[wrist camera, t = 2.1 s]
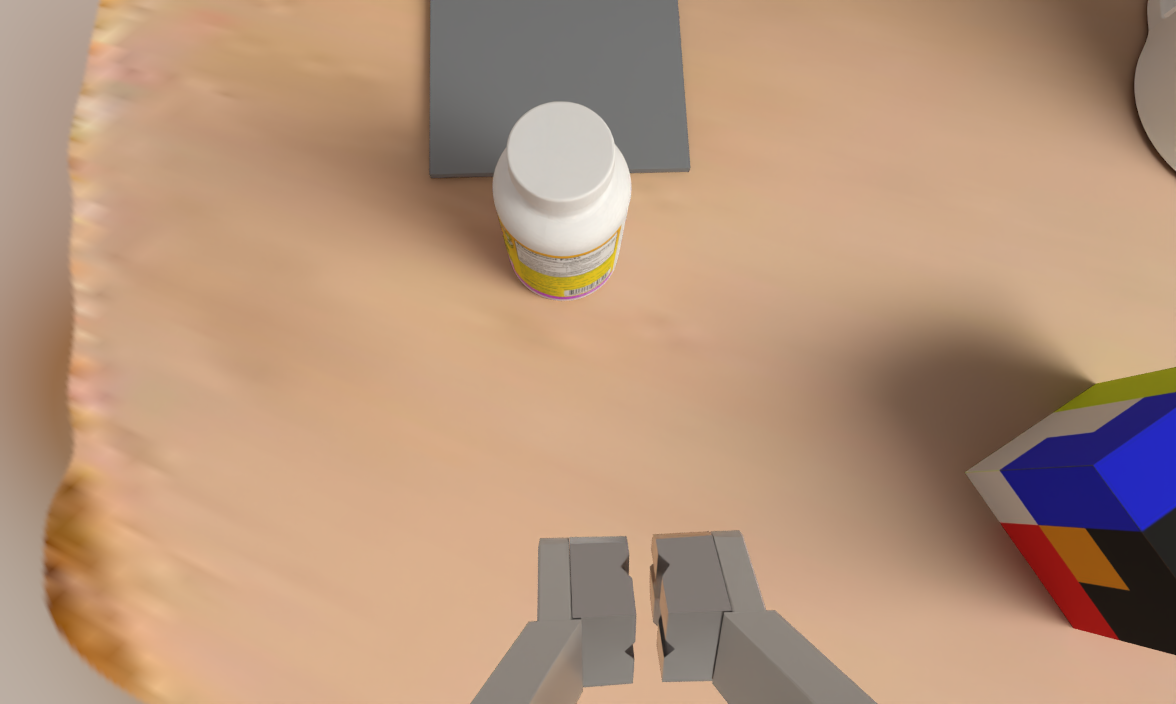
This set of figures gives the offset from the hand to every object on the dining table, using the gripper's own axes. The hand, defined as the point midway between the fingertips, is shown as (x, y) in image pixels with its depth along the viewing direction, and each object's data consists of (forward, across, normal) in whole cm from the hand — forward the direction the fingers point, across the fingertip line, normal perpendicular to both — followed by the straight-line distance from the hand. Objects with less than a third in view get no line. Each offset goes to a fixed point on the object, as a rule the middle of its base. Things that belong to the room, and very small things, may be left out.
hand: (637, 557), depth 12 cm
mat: (+39, +1, 0) cm, 39 cm away
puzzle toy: (+19, -29, +20) cm, 40 cm away
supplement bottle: (+30, +1, +8) cm, 32 cm away
